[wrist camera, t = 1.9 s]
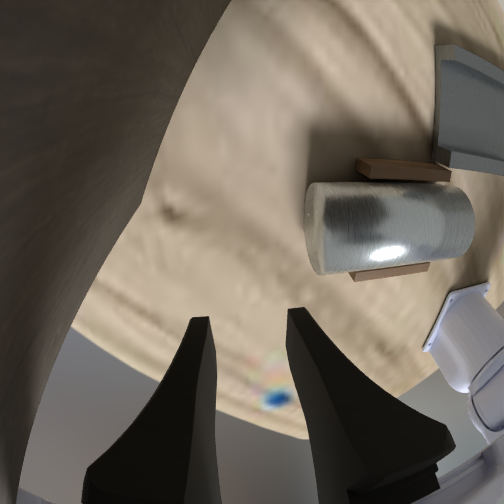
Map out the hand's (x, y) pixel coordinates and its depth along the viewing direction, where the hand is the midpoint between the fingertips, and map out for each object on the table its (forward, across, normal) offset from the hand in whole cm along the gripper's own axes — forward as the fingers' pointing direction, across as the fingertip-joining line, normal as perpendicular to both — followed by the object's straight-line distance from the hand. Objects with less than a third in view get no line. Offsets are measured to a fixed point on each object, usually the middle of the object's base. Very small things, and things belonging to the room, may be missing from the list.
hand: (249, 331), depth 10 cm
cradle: (+9, -20, -9) cm, 23 cm away
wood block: (+10, +11, -19) cm, 24 cm away
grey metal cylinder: (+10, -10, 0) cm, 14 cm away
